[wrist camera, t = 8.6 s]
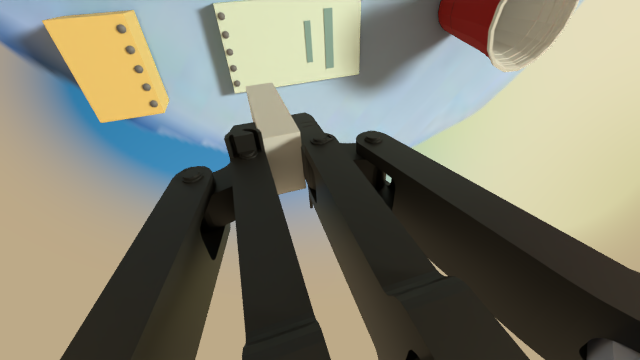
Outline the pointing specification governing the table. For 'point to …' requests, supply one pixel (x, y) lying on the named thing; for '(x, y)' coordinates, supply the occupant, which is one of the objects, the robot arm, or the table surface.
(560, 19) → the plastic cup
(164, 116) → the table surface
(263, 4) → the pale green flat block
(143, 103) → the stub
